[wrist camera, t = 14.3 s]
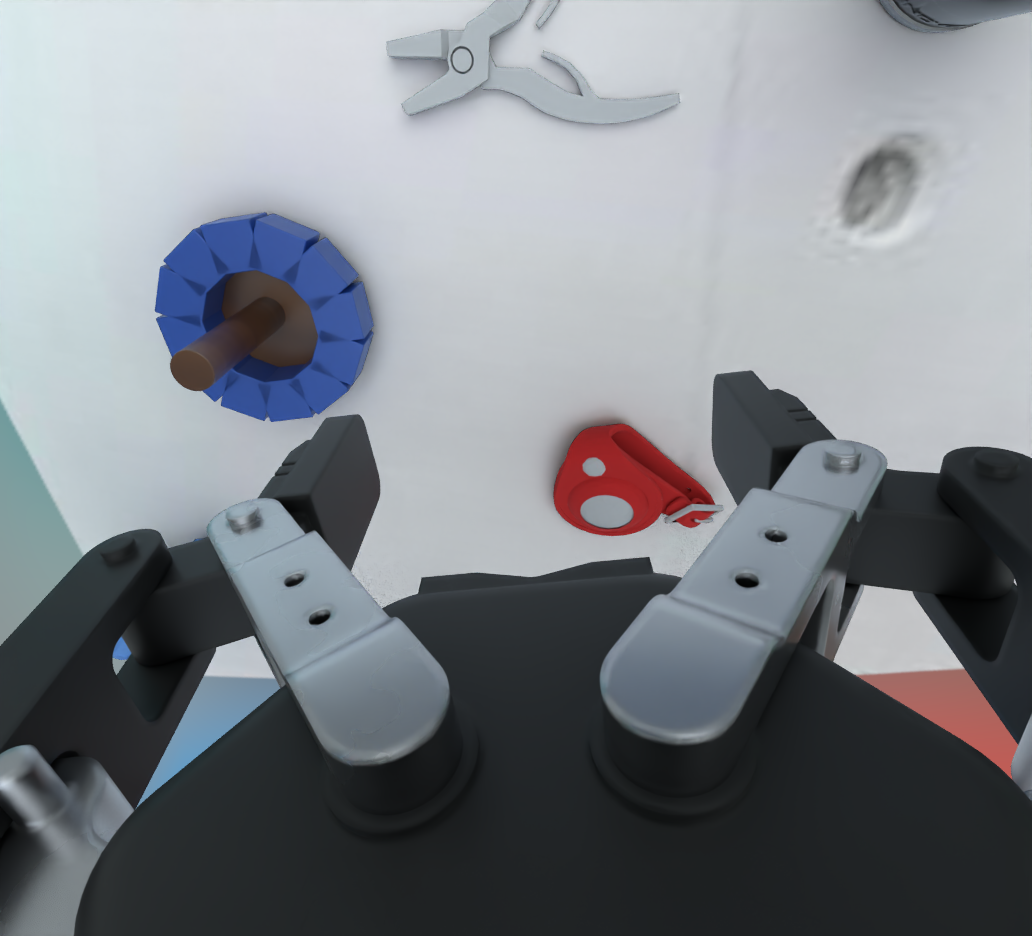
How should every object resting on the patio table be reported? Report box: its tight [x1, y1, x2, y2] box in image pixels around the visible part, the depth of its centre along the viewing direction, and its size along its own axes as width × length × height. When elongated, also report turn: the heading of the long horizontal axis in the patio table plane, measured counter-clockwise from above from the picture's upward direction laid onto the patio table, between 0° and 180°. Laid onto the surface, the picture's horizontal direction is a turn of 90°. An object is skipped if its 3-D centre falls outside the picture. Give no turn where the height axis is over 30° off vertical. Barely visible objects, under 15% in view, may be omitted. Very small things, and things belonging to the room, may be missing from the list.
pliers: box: [386, 0, 680, 124], centre depth 33 cm, size 10×2×15 cm
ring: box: [155, 212, 374, 422], centre depth 39 cm, size 12×12×3 cm
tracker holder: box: [554, 424, 724, 536], centre depth 45 cm, size 12×4×10 cm
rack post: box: [170, 270, 318, 391], centre depth 36 cm, size 8×8×12 cm
